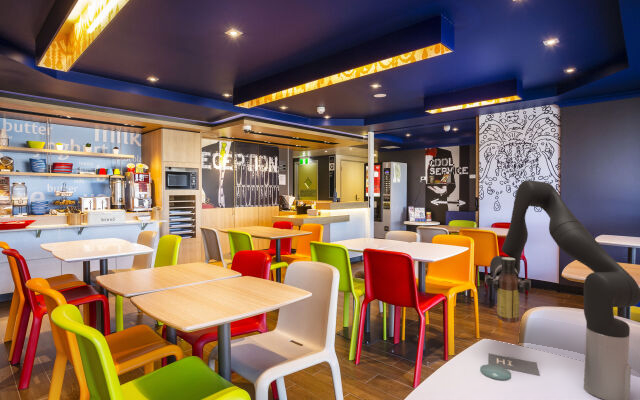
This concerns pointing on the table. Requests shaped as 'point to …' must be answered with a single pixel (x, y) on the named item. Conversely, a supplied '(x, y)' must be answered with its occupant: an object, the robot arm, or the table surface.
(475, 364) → the table surface
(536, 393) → the table surface
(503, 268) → the sauce bottle
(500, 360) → the grey card
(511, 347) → the table surface
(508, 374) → the sage green round disc
